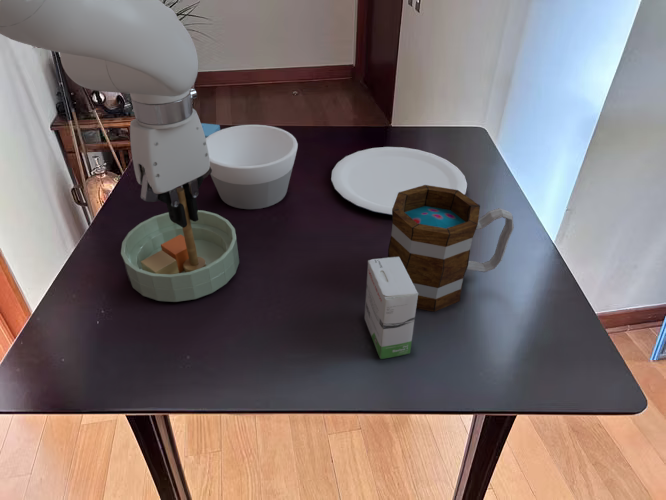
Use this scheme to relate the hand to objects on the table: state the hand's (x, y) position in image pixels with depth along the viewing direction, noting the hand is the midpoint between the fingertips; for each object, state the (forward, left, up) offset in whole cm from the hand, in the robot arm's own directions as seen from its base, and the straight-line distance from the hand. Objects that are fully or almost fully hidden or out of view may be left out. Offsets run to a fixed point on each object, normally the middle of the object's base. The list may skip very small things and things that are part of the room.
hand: (185, 220), depth 80 cm
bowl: (+25, +13, -11) cm, 30 cm away
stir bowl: (0, +3, -11) cm, 12 cm away
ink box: (+10, -32, -11) cm, 36 cm away
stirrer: (0, 0, -10) cm, 10 cm away
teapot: (+29, +33, -11) cm, 45 cm away
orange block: (0, +4, -10) cm, 11 cm away
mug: (+26, -32, -11) cm, 43 cm away
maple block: (-5, +2, -10) cm, 12 cm away
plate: (+48, -8, -11) cm, 50 cm away
